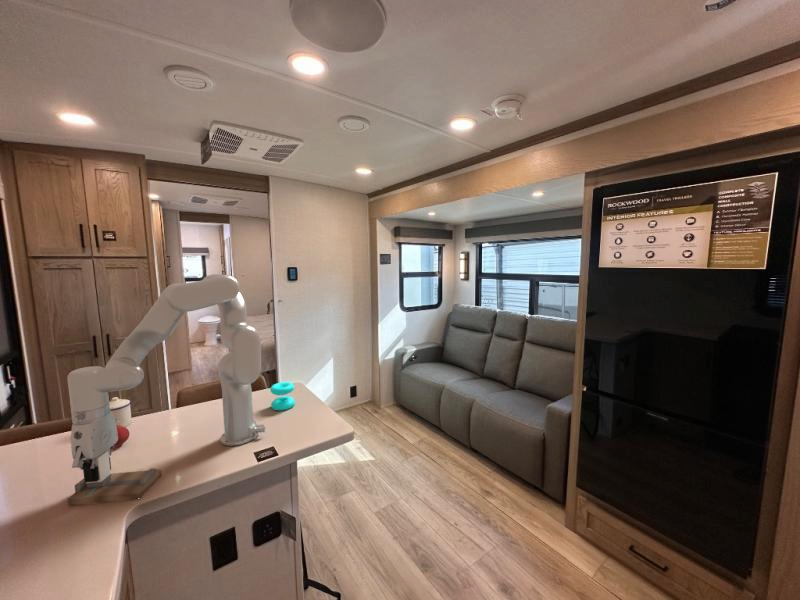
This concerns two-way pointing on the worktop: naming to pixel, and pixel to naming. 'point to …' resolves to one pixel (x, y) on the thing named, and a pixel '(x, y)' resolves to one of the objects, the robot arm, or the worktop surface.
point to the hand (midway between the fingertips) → (98, 475)
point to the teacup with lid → (121, 411)
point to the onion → (121, 435)
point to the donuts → (285, 401)
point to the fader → (101, 470)
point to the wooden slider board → (115, 488)
